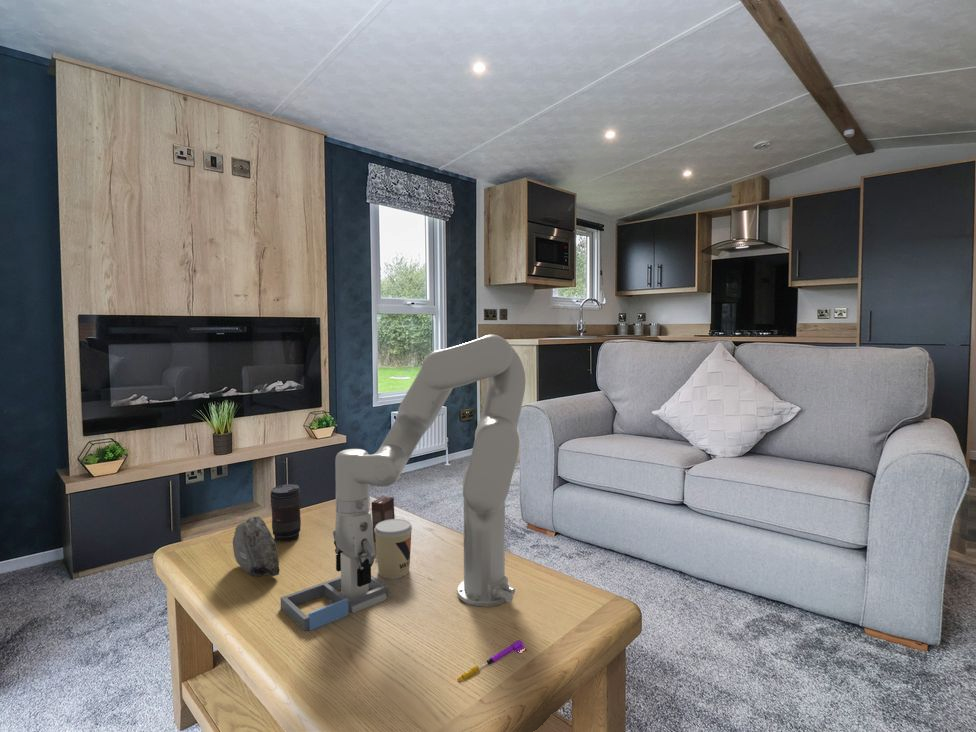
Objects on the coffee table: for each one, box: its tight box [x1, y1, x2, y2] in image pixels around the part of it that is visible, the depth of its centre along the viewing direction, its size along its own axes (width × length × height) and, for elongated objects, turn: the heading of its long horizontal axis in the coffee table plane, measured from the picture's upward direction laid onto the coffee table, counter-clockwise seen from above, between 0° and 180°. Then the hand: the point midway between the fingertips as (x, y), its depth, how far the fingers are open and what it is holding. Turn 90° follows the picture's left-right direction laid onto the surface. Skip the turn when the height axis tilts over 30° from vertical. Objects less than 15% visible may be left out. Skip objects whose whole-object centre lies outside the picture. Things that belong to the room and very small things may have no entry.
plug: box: [340, 551, 370, 599], centre depth 120 cm, size 4×4×11 cm
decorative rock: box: [232, 515, 280, 577], centre depth 131 cm, size 16×7×15 cm, turn 44°
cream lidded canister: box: [374, 518, 413, 579], centre depth 132 cm, size 9×9×12 cm
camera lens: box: [270, 483, 302, 543], centre depth 154 cm, size 8×8×15 cm
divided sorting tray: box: [280, 574, 390, 632], centre depth 117 cm, size 13×20×4 cm, turn 133°
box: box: [370, 495, 396, 544], centre depth 152 cm, size 6×4×12 cm
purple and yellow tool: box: [457, 639, 526, 683], centre depth 96 cm, size 3×1×16 cm
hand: (353, 576), depth 121 cm, fingers open, 9 cm apart
